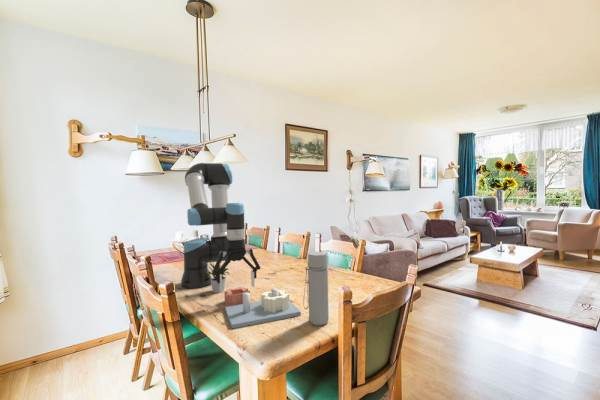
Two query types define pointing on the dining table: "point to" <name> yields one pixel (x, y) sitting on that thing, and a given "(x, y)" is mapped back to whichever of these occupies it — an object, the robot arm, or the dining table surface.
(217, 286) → the house plant
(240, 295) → the gear
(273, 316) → the board
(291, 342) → the dining table surface
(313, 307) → the water bottle
